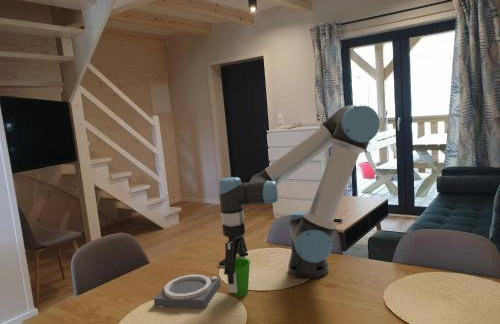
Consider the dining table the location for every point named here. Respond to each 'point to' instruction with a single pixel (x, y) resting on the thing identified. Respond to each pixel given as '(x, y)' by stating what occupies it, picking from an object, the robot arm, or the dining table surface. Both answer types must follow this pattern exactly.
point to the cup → (242, 276)
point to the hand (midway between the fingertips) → (238, 282)
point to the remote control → (222, 263)
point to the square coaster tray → (188, 292)
